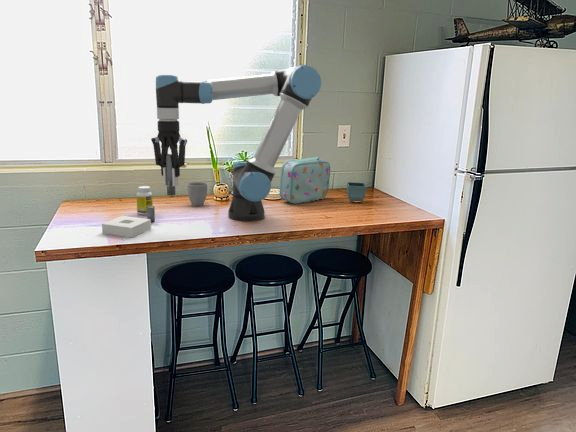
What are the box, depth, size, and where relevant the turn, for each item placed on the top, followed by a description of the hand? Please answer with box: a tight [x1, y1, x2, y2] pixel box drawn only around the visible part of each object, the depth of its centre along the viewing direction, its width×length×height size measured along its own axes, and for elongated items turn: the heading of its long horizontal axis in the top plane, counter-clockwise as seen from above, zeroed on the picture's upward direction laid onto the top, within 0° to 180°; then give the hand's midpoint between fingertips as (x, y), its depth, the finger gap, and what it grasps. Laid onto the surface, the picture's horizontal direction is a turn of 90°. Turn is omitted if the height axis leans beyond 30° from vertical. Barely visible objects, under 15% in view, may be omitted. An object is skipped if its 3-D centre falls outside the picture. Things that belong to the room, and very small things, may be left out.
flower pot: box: [346, 181, 368, 202], centre depth 230 cm, size 9×9×9 cm
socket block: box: [101, 215, 152, 238], centre depth 170 cm, size 12×12×4 cm
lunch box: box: [279, 156, 331, 205], centre depth 227 cm, size 27×10×21 cm, turn 133°
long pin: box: [165, 153, 176, 197], centre depth 172 cm, size 3×3×15 cm
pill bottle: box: [136, 185, 154, 216], centre depth 194 cm, size 6×6×11 cm
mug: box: [186, 181, 208, 207], centre depth 213 cm, size 12×9×10 cm
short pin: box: [146, 205, 156, 224], centre depth 183 cm, size 3×3×6 cm
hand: (171, 184), depth 173 cm, fingers closed on long pin, 3 cm apart
